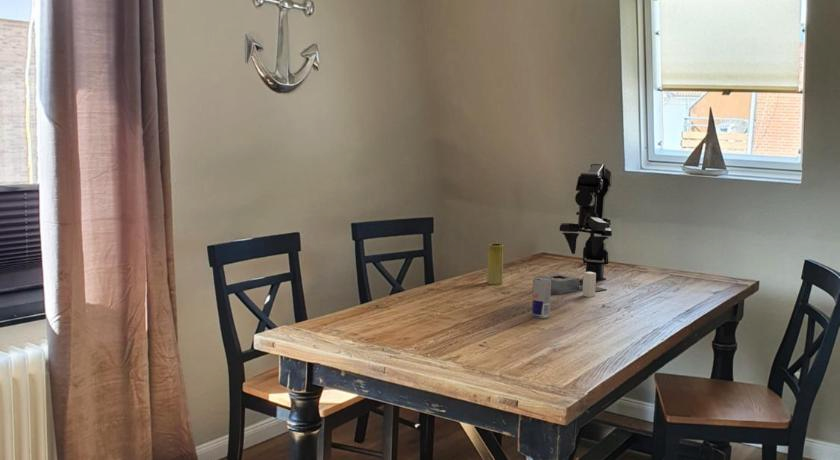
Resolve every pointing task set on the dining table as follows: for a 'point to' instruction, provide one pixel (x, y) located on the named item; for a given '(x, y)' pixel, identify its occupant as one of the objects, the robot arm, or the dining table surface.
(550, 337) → the dining table surface
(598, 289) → the mat
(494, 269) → the vase
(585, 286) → the cream rectangular prism
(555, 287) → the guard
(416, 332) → the dining table surface
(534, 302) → the energy drink
